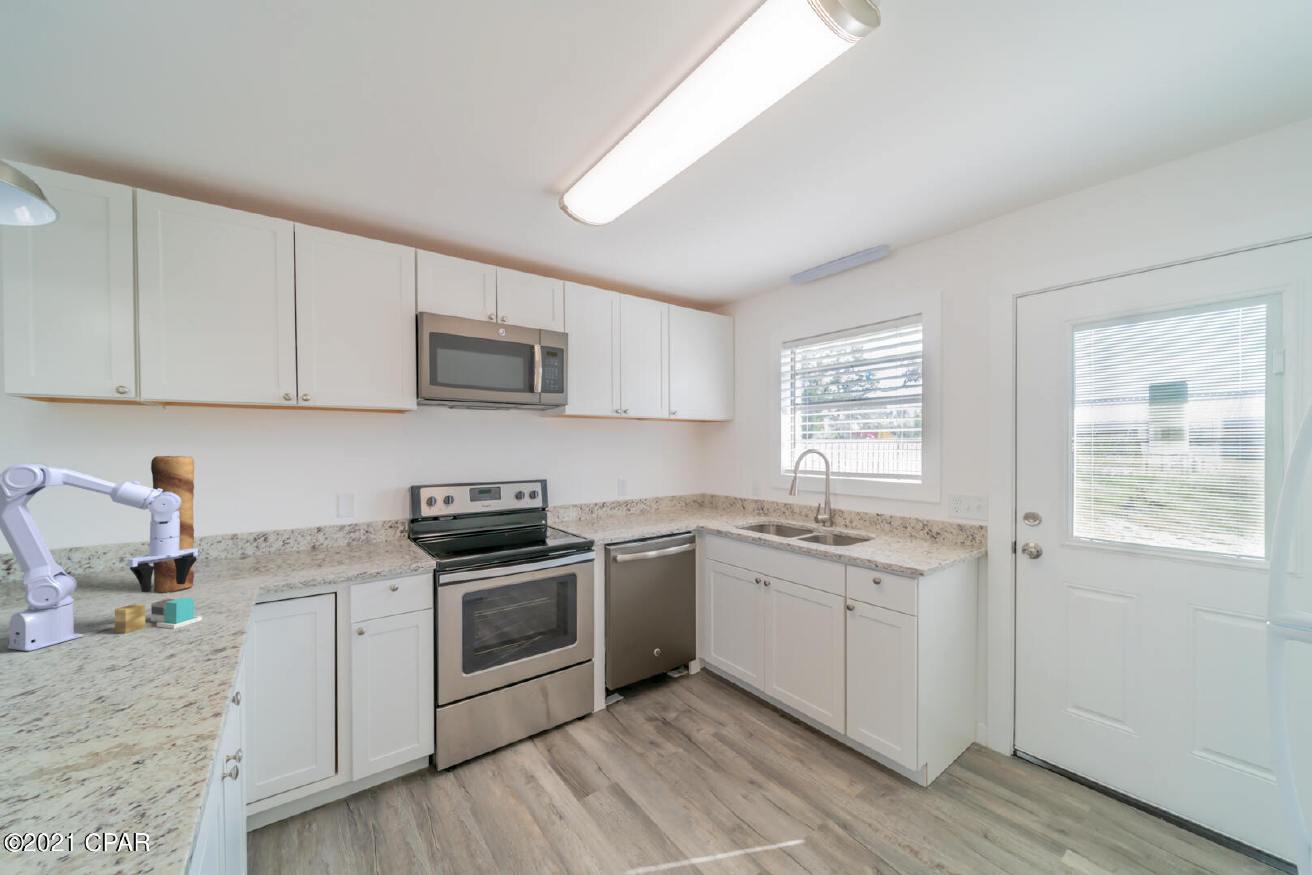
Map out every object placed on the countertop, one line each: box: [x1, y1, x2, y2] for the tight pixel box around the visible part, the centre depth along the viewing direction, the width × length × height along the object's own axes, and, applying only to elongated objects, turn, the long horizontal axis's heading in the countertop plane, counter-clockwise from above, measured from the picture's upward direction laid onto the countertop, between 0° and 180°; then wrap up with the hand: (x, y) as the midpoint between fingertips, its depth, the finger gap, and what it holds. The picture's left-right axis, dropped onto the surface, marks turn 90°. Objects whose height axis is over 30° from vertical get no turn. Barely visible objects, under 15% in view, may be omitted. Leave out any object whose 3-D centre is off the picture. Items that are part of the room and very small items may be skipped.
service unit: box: [150, 598, 176, 623], centre depth 136 cm, size 4×5×5 cm
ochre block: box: [114, 603, 146, 634], centre depth 129 cm, size 4×4×6 cm
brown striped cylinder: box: [150, 455, 195, 594], centre depth 167 cm, size 10×11×45 cm
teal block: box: [166, 597, 195, 624], centre depth 133 cm, size 4×4×6 cm
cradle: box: [156, 615, 203, 630], centre depth 133 cm, size 6×6×1 cm
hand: (163, 587), depth 133 cm, fingers open, 7 cm apart
